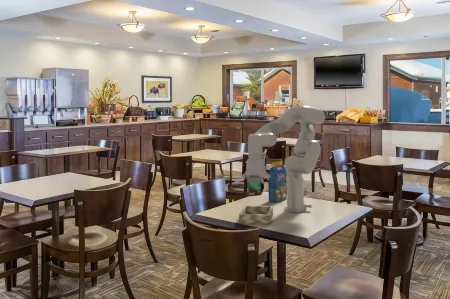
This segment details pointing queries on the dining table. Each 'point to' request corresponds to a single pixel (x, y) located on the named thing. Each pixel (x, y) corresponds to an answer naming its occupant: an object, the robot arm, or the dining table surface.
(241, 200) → the dining table surface
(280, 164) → the blue food package
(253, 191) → the food container
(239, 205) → the dining table surface
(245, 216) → the birch box
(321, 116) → the robot arm
